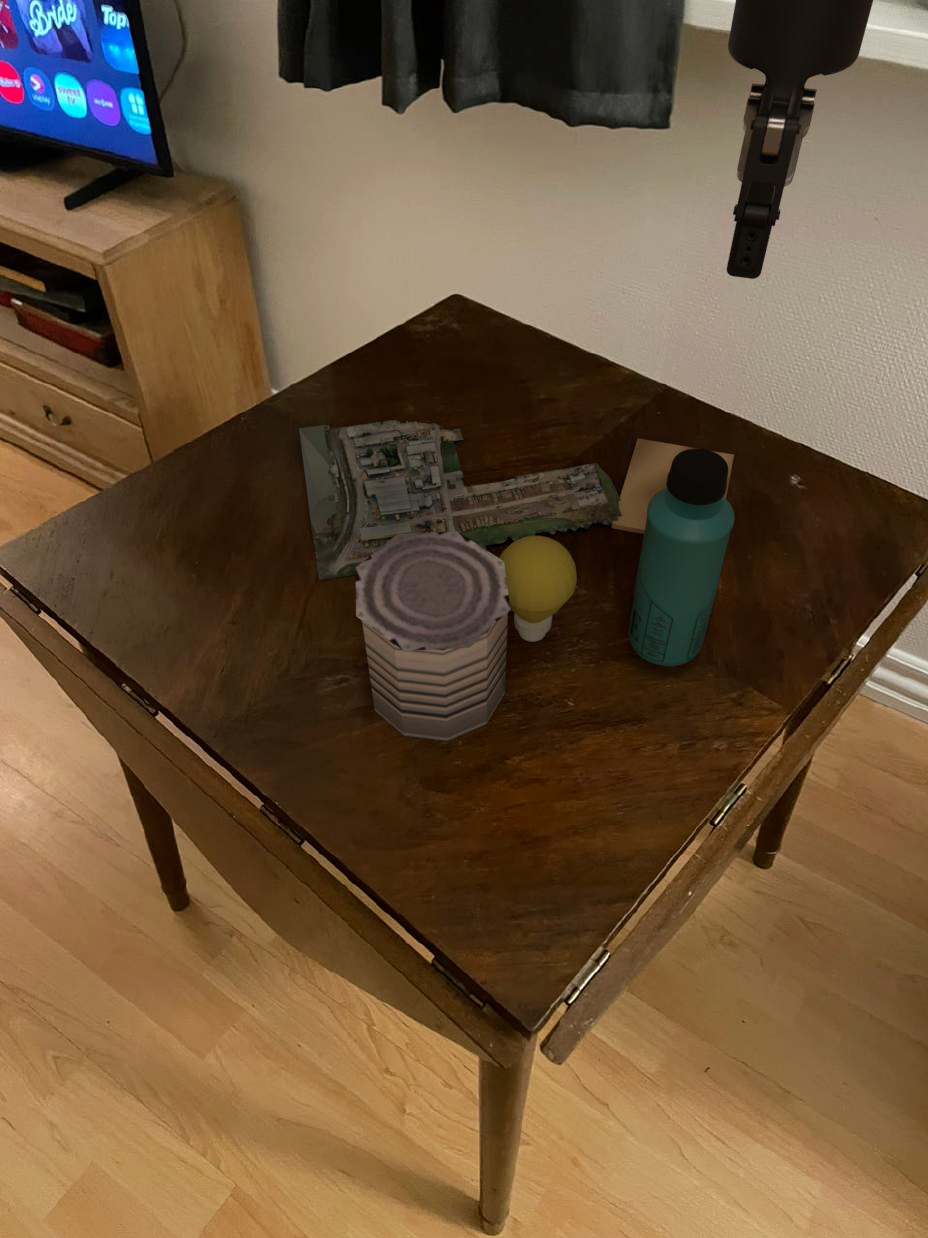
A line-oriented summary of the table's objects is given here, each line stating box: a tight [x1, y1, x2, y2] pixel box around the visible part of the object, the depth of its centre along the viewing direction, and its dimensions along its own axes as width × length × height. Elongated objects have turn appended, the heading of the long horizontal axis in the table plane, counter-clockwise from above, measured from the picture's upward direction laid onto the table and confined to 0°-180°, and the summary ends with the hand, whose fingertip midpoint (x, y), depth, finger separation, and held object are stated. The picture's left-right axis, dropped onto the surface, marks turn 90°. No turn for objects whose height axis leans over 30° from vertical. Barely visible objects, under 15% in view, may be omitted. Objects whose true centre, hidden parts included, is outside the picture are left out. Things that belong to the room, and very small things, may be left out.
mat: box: [611, 437, 735, 535], centre depth 93 cm, size 10×14×1 cm
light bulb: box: [498, 535, 578, 642], centre depth 77 cm, size 7×7×10 cm
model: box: [298, 419, 622, 581], centre depth 93 cm, size 21×30×2 cm
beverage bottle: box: [626, 448, 736, 667], centre depth 71 cm, size 6×7×20 cm
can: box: [355, 532, 511, 742], centre depth 72 cm, size 11×11×12 cm
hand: (749, 245), depth 64 cm, fingers open, 8 cm apart
